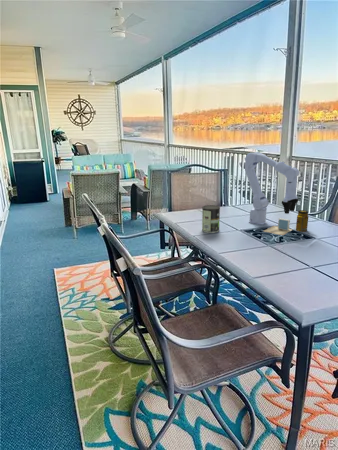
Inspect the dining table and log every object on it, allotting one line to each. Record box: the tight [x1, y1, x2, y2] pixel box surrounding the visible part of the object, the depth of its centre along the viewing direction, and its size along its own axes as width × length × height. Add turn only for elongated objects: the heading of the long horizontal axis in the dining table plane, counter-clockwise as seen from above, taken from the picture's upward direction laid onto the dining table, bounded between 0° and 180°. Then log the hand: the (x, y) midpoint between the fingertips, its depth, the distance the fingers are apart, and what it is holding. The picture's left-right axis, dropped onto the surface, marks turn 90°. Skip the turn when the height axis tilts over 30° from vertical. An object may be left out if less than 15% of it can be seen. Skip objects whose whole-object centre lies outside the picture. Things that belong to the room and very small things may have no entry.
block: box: [277, 218, 291, 230], centre depth 186 cm, size 6×2×6 cm, turn 48°
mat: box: [263, 225, 293, 236], centre depth 185 cm, size 12×14×1 cm
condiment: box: [295, 209, 309, 233], centre depth 183 cm, size 7×8×12 cm
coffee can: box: [201, 204, 221, 234], centre depth 187 cm, size 10×10×14 cm
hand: (289, 212), depth 188 cm, fingers open, 7 cm apart
